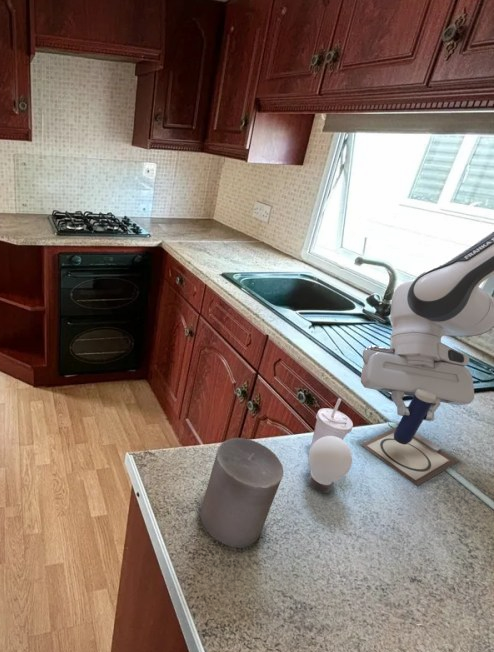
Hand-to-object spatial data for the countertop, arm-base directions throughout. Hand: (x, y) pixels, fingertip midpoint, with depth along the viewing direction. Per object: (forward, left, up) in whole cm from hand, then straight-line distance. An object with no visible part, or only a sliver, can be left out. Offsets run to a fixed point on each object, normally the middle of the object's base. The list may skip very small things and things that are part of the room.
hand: (415, 418), depth 82 cm
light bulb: (+1, +25, -9) cm, 27 cm away
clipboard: (-2, -1, -9) cm, 9 cm away
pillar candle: (+2, +46, -9) cm, 47 cm away
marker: (+1, 0, -7) cm, 7 cm away
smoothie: (+6, +18, -9) cm, 21 cm away
